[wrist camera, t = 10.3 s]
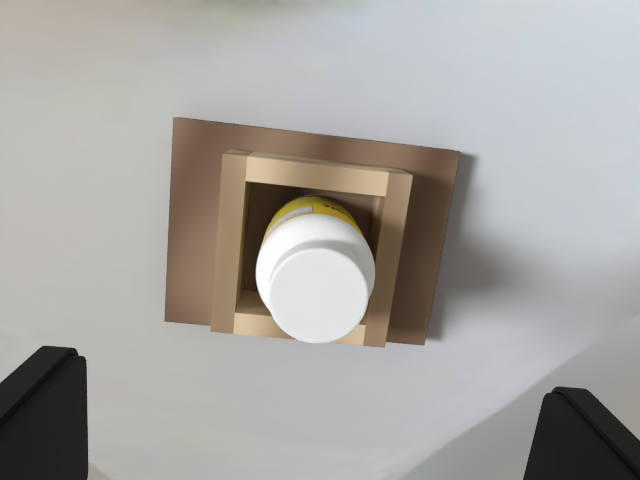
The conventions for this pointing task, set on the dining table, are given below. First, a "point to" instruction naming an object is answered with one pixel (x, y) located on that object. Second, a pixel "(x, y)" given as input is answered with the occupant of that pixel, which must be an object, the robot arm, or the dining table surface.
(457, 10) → the dining table surface
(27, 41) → the dining table surface
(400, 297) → the socket board
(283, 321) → the supplement bottle
